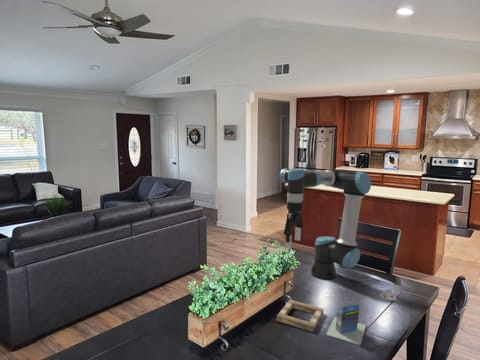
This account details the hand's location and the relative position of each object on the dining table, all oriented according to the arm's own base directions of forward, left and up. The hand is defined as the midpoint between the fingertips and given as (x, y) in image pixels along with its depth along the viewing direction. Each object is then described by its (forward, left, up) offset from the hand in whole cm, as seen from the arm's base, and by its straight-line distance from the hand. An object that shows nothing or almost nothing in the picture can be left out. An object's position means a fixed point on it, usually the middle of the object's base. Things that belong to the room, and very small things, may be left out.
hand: (292, 244), depth 163 cm
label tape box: (+8, +29, -31) cm, 43 cm away
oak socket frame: (+8, +8, -32) cm, 34 cm away
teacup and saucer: (-32, +40, -32) cm, 61 cm away
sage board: (+8, +29, -32) cm, 44 cm away
